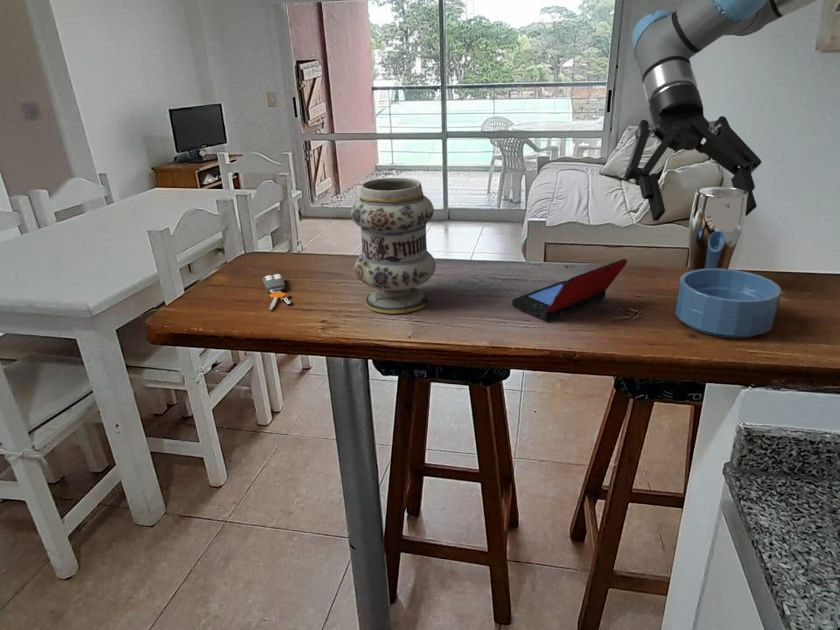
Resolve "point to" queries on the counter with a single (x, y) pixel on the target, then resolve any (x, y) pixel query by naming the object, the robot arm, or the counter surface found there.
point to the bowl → (727, 302)
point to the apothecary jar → (394, 244)
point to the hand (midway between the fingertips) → (704, 214)
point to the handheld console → (569, 293)
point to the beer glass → (715, 226)
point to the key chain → (275, 288)
